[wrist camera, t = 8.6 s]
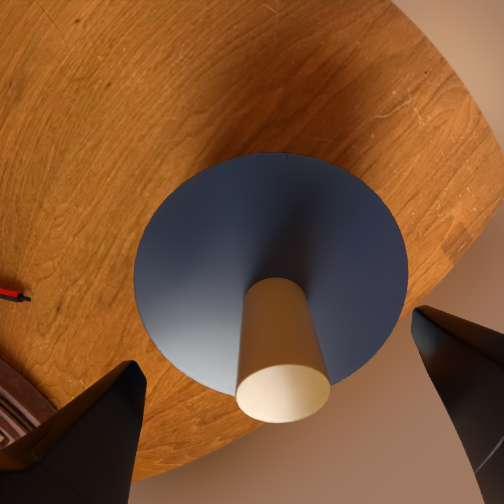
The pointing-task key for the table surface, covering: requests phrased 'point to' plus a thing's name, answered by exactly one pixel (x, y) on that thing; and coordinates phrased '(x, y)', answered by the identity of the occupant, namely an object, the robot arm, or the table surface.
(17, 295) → the pen
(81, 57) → the table surface
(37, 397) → the desk lamp
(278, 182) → the canister lid
